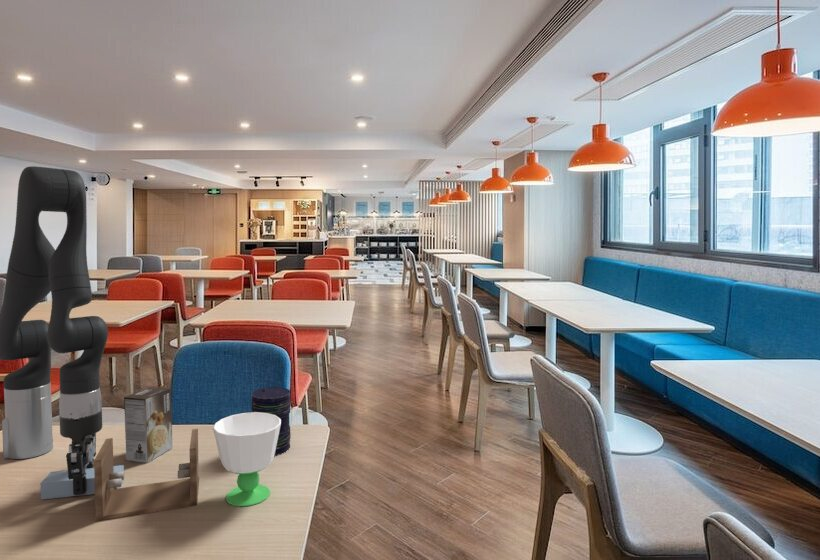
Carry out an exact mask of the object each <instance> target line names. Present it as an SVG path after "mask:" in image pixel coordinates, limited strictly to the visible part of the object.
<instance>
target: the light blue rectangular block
mask: <svg viewBox="0 0 820 560" xmlns="http://www.w3.org/2000/svg"><path fill="white" fill-rule="evenodd" d="M113 468H114V473H115V472H123V471H124V472H125V470H124V469H125V466H124V464H123V465H122V464H121V465H120V464H119V465H113ZM75 472H79V469H76V470H75ZM86 473H87V474H86V492H85V494H81V495H74V494H73V479H70V480H69V478H68V469H67V470H56V471H55V470H54V471H50V472H49V474H47V476H45V478H44V479H43V480H41V482H40V483H39V484H40V487H39V488H40V500H41V501H42V500H50V499H52V500H53V499H60V498H69V497H80V496H88V495H95V475H94V467H93V468H87V469H86ZM124 481H125V479H124V480H122V484H123V483H124ZM118 488H121V487H116V488H114V489H118Z"/></svg>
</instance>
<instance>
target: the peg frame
mask: <svg viewBox="0 0 820 560" xmlns="http://www.w3.org/2000/svg"><path fill="white" fill-rule="evenodd" d="M190 435H191V436H190V441H189V443H190V444H189V462H184V463H179V464H178V470H177V479H174V480H169V481H160V482H155V483H154V482H153V483H146V484H142V485H141V484H139V485H132V486H126V487H122V484H123V483H122V480H124V481H125V470H124V471H123V472H115V473H114V468H113V466H114V442H113V441H114V440H113V439H114V438H113V437H111V438H110V437H109V438H106V439H104V442H103V444H102V445H101V447H100V449H99V451H98V453H96V455H95V457H94V462H93V468H94V475H95V494H94V499H95V500H94V501H95V516H94V517H95V519H94V520H95V522H99V521H104V520H111V519H118V518H125V517H130V516H134V515H135V516H136V515H142V514H149V513H155V512H160V511H166V510H174V509H179V508H185V507H186V508H187V507H191V506H198V503H199V502H198V499H199V487H200V475H199V470H200V469H199V428H193V429H191V433H190ZM116 487H120V488H118V489H114V488H116Z"/></svg>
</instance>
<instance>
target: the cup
mask: <svg viewBox="0 0 820 560" xmlns="http://www.w3.org/2000/svg"><path fill="white" fill-rule="evenodd" d="M213 425H214V426H213V428H212V430H213V434H214V438H215V442H216V447H217V450H218V455H219V458H220V463H221V464H222V466H223V467H224V469H225V470H226V471H228V472H229V473H232V474H235V475H237V480H236V484H237V487H234V488H233V489H231V490H230V491H229V492H228V493H227V494H226V496H225V497H226V498H225V501H227V503H228V504H229V505H231V506H233V507H241V506H242V508H243V507H244V508H245V507H250V506H251V507H252V506H255V505H257V504H261V503H262V502H264V501H266V500H267V499H268V498H269V497H270V495H271V489H270V488H269V487H268V486H266V485H263V484H259V483H260V474H259V472H260V471H262V470H264V469H266V468H267V467H268V466H269V465H270V464H271V463H272V461H274V459H275V456H274V455H275V450H276V445H277V440H278V435H279V431H280V426H281V419H280V418H279V417H277V416H276V415H273V414H269V413H260V412H252V413H251V412H243V413H236V414H231V415H229V416H226V417H224V418H221V419H219V420H218V421H217V422H215V423H214V424H213Z"/></svg>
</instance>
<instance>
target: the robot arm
mask: <svg viewBox="0 0 820 560" xmlns="http://www.w3.org/2000/svg"><path fill="white" fill-rule="evenodd" d="M84 182H85V181H84V178H83V177H82V175H81V174H80V173H79V172H77V171H75V170H70V169H64V168H55V167H54V168H53V167H44V166H34V165H33V166H32V165H31V166H26V167H24V168H23V170H22V172H21V173H20V176H19V180H18V184H17V185H18V187H17V198H16V199H17V200H16V201H17V202H16V213H15V215H16V216H15V225H14V235H13V239H12V240H13V241H12V245H11V249H10V254H9V257H8V258H9V259H8V265H7V271H6V277H5V285H4V294H3V299H2V304H1V307H0V360H1V361H15V360H16V361H17V360H24V359H29V361H28V362H27V363H25V365H23V366H21V367H20V368H18V369H16V370H13V371H12V372H9V373H8V374H6V375H5V376H4V378H3V394H4V396H3V397H4V415H5V417H4V418H3V419H2V420H1V431H2V433H1V435H2V436H1V437H2V453H3V460H4V459H11V460H24V459H29V458H30V459H31V458H35V457H38V456H41V455H44V454H46V453H48V452H50V451H52V450H53V448H54V438H53V437H54V436H53V434H54V433H53V432H54V431H53V414H52V411H53V410H52V409H53V408H52V407H53V406H52V387H51V386H52V385H51V384H52V382H51V375H52V351H54V352H55V353H56V354H57V353H58V354H67V353H73V352H79V351H80V352H81V351H83V352H82V353H81V355H80V356H79V357H78V358H76V359H74V360H72V361H69V362H66V363H64V364H62V366H60V368H59V400H58V410H59V434H60V436H61V437H63V438H65V439H68V438H69V439H70V440H71V443H69V445H68V452H67V453H66V456H65V458H66V464H67V465H66V466H67V470H68V478H69V480H70V479H73V494H74V495H80V496H82V495H81V494H85V492H86V474H87V473H86V469H87V468H94V460H95V458H96V456H97V452H96V451H97V450H96V447H97V445H96V444H97V443H96V442H97V433H99V432H100V431H101V430H102V429H103V403H102V394H101V393H102V392H101V387H100V386H101V381H100V380H101V379H100V377H101V376H100V369H101V364H102V359H103V354H104V350H105V348H106V345H107V341H108V339H109V338H108V337H109V328H108V325H107V323H106V321H105V320H104V319H103V318H102V317H100V316H97V315H89V316H88V315H87V316H79V317H70V314H71V311H72V309H75V308H78V307H79V308H80V307H83V306H87V305H89V304H90V303H91V302H92V300H93V294H92V287H91V281H90V274H89V269H88V267H89V266H88V257H87V234H88V233H87V230H88V229H87V228H88V225H87V223H88V222H87V220H88V219H87V217H88V215H87V192H86V191H87V190H86V185H85V183H84ZM41 212H52V213H53V212H54V213H65V214H66V219H67V220H66V228H65V232H64V234H63V236H62V239H60V242H59V244H58V246H57V247H56V249H55V248H54V246H53V244H52V243H51V242H50V240H49V239H48V238H47V236H46V235H45V233H44V231H43V230H42V228H41V226H40V221H39V219H40V218H39V217H40V214H41ZM50 293H51V311H50V318H49V323H48V322H47V321H46V320H44V319H32V320H31V319H30V320H24V319H25V317H26V315H27V314H28V313H29V312H30V311H31V310H32V309H34V307H36V306H37V305H38V304H39V303H40V302H41V301H43V300H44V299H45V298H46V297H47V296H48V295H49V294H50ZM76 469H79V472H75V470H76Z"/></svg>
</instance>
